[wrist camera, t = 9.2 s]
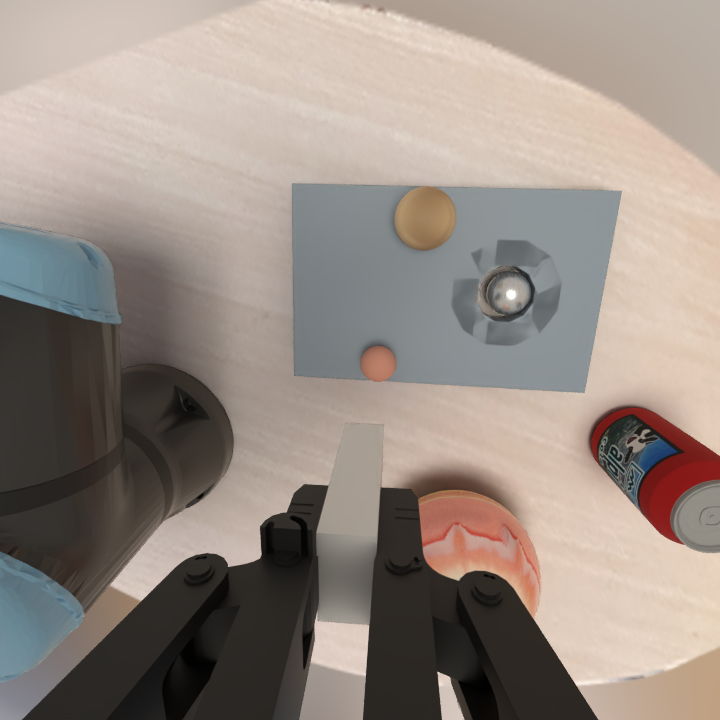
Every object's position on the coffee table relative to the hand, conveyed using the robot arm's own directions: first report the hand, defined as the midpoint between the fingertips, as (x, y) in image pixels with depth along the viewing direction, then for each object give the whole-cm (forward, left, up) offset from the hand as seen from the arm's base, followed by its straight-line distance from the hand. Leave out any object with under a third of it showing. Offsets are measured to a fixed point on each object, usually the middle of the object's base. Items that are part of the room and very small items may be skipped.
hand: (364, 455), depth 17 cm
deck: (+5, +4, -23) cm, 24 cm away
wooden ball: (+3, +10, -18) cm, 21 cm away
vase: (+8, -20, -23) cm, 31 cm away
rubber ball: (0, -2, -19) cm, 19 cm away
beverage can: (+23, -9, -23) cm, 34 cm away
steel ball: (+10, +4, -21) cm, 24 cm away
